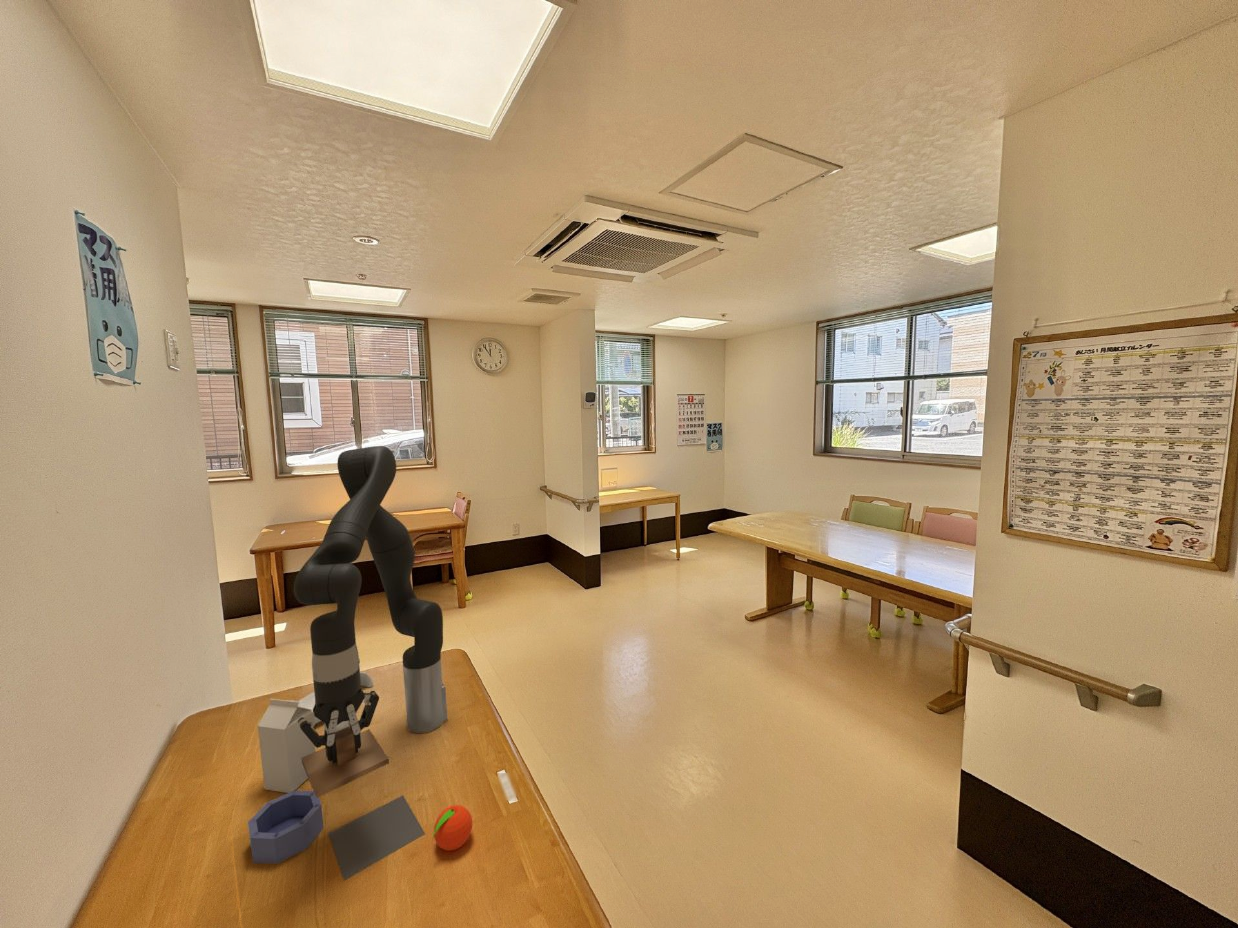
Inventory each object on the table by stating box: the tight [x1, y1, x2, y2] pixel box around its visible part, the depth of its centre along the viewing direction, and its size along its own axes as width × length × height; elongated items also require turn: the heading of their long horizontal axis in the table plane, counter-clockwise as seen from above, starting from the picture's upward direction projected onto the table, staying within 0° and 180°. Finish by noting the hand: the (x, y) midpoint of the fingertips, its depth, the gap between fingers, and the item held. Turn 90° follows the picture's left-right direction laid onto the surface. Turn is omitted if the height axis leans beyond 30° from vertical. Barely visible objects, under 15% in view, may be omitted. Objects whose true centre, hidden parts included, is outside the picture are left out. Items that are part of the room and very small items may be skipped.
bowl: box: [247, 789, 324, 865], centre depth 95 cm, size 11×11×6 cm
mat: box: [328, 794, 426, 881], centre depth 95 cm, size 14×13×1 cm
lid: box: [301, 727, 390, 798], centre depth 93 cm, size 12×12×6 cm
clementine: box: [432, 804, 473, 852], centre depth 92 cm, size 8×7×7 cm
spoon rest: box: [298, 671, 374, 725], centre depth 138 cm, size 24×12×7 cm, turn 159°
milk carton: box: [257, 698, 317, 794], centre depth 109 cm, size 7×7×19 cm
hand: (344, 755), depth 93 cm, fingers closed on lid, 3 cm apart
